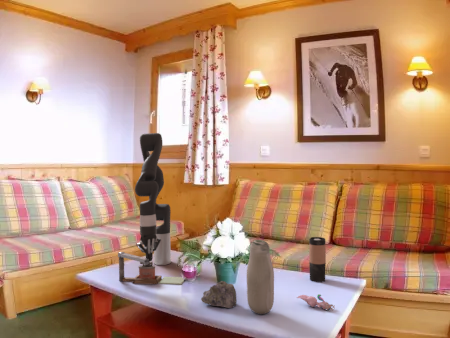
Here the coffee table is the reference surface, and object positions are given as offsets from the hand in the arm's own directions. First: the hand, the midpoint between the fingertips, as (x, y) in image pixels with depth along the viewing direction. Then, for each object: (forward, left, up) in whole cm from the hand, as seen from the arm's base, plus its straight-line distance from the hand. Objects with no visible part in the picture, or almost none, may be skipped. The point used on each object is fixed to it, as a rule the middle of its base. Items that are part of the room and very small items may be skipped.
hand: (149, 260), depth 189 cm
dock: (-6, -8, -12) cm, 15 cm away
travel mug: (-19, +77, -12) cm, 81 cm away
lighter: (-6, -4, -12) cm, 14 cm away
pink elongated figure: (+16, +75, -12) cm, 77 cm away
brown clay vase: (+24, +53, -12) cm, 60 cm away
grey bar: (-2, -9, -1) cm, 9 cm away
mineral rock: (+18, +37, -12) cm, 43 cm away
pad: (-8, +8, -12) cm, 17 cm away
